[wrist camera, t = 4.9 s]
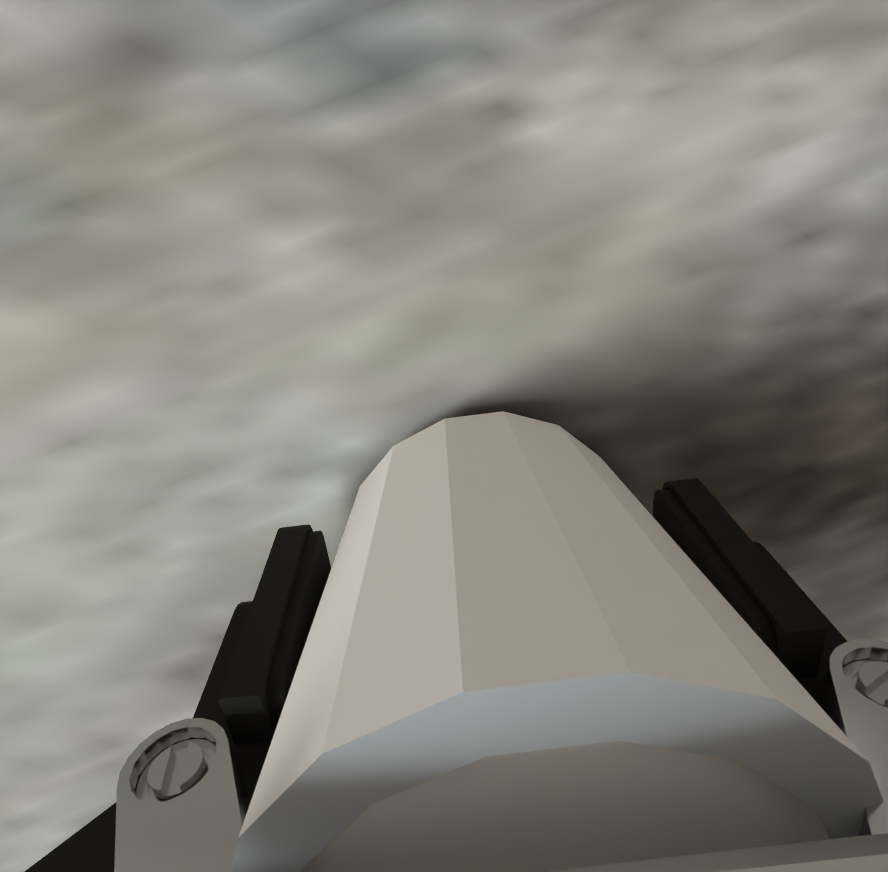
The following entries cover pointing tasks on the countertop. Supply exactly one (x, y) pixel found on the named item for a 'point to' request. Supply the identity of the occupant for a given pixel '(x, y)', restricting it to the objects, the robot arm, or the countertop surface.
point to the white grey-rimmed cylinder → (532, 683)
